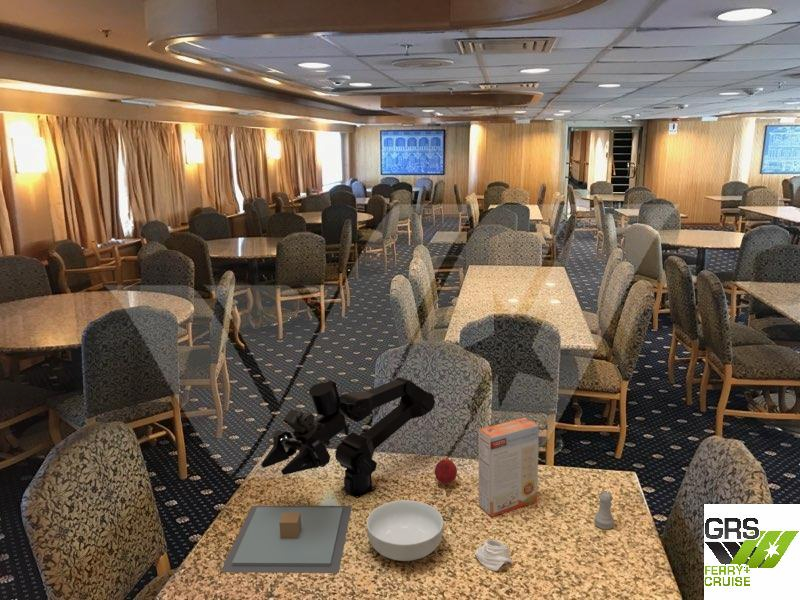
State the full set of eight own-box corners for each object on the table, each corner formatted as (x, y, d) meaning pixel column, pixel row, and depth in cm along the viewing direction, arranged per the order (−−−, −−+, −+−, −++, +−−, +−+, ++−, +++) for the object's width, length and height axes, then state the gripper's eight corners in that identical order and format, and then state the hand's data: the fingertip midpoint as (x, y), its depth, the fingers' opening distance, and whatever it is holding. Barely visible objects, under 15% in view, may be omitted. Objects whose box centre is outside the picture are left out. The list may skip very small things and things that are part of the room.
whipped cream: (470, 563, 135) (467, 543, 134) (488, 546, 140) (486, 527, 138) (500, 577, 130) (498, 557, 128) (519, 559, 134) (516, 540, 133)
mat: (251, 507, 156) (251, 505, 156) (351, 507, 155) (351, 505, 155) (220, 574, 132) (220, 572, 131) (338, 574, 131) (338, 572, 131)
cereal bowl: (387, 583, 128) (387, 553, 126) (355, 539, 142) (354, 512, 141) (458, 557, 135) (458, 528, 134) (420, 518, 150) (420, 492, 148)
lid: (257, 510, 154) (256, 492, 153) (342, 510, 153) (341, 492, 152) (232, 566, 133) (230, 546, 132) (330, 566, 133) (329, 546, 131)
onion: (455, 491, 161) (455, 463, 159) (433, 489, 162) (433, 461, 160) (458, 479, 167) (458, 452, 165) (436, 478, 168) (436, 450, 166)
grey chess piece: (615, 521, 147) (617, 491, 145) (612, 532, 143) (614, 500, 141) (595, 517, 149) (597, 487, 147) (592, 527, 145) (594, 496, 143)
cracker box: (523, 491, 161) (525, 415, 156) (538, 503, 155) (540, 425, 150) (476, 505, 155) (477, 427, 150) (490, 518, 149) (491, 437, 144)
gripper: (289, 397, 155) (237, 434, 146) (331, 405, 141) (277, 445, 132) (307, 435, 158) (257, 473, 149) (351, 445, 144) (299, 488, 135)
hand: (271, 469), depth 141 cm, fingers open, 9 cm apart
